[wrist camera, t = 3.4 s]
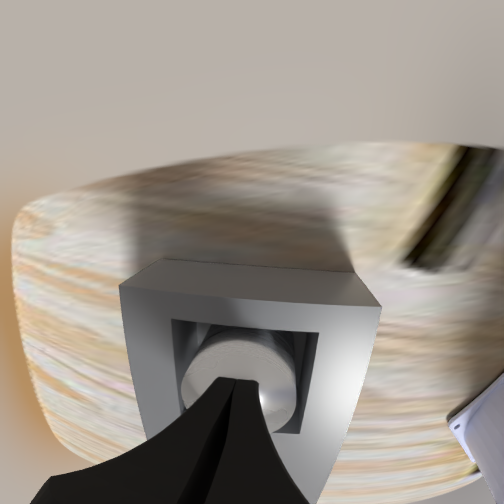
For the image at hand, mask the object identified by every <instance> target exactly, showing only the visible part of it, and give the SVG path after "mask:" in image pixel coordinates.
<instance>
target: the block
mask: <svg viewBox="0 0 504 504" xmlns="http://www.w3.org/2000/svg"><path fill="white" fill-rule="evenodd" d="M119 292H120V302H121V311H122V319H123V326H124V333H125V340H126V346H127V353H128V358H129V364H130V369H131V375H132V380H133V385H134V389H135V394H136V398H137V403H138V407H139V411H140V415H141V419H142V423H143V427H144V431H145V434H146V438H147V440H149V439H150V438H152V437H153V436H155V435H156V434H158V433H159V432H161V431H162V430H163V429H165V428H166V427H167V426H168V425H170V424H171V423H172V422H173V421H174V420H176V419H177V418H178V417H179V416H180V415H182V414H183V413H184V412H185V411H186V410H187V408H186V406H185V404H184V402H183V399H182V395H181V384H182V380H183V377H184V375H185V373H186V372H187V370H188V368H189V366H190V364H191V362H192V360H193V358H194V356H195V355H196V353H197V351H198V349H199V347H200V345H201V343H202V341H203V339H204V337H205V336H206V334H207V332H208V330H209V328H210V326H211V324H218V325H227V326H237V327H247V328H259V329H271V330H285V331H292V334H293V337H294V347H295V374H296V407H295V411H294V413H293V415H292V417H291V418H290V420H289V421H288V422H287V423H286V424H285V425H284V426H282V427H281V428H280V429H278V430H276V431H274V432H272V433H270V436H271V438H272V441H273V443H274V446H275V448H276V450H277V452H278V454H279V456H280V458H281V460H282V462H283V464H284V466H285V468H286V469H287V471H288V473H289V474H290V476H291V478H292V479H293V481H294V482H295V484H296V485H297V487H298V488H299V489H300V491H301V492H302V494H303V495H304V496H305V498H306V499H307V500H308V502H309V503H310V504H316V503H317V501H318V499H319V497H320V494H321V492H322V490H323V488H324V486H325V484H326V482H327V479H328V477H329V475H330V473H331V470H332V468H333V466H334V463H335V461H336V458H337V456H338V454H339V451H340V449H341V446H342V443H343V441H344V438H345V436H346V433H347V430H348V427H349V425H350V422H351V419H352V416H353V413H354V410H355V407H356V404H357V401H358V398H359V395H360V392H361V388H362V385H363V382H364V378H365V375H366V371H367V368H368V364H369V360H370V357H371V353H372V349H373V345H374V341H375V337H376V332H377V328H378V324H379V319H380V314H381V309H382V306H381V305H380V304H379V302H378V301H377V300H376V298H375V297H374V296H373V294H372V293H371V292H370V291H369V289H368V288H367V287H366V285H365V284H364V283H363V281H362V280H361V279H360V278H359V276H358V275H357V274H356V273H352V272H336V271H320V270H305V269H290V268H276V267H262V266H248V265H235V264H221V263H209V262H196V261H183V260H171V259H160V260H158V261H156V262H155V263H153V264H152V265H150V266H148V267H147V268H145V269H143V270H142V271H140V272H139V273H137V274H135V275H134V276H132V277H131V278H129V279H128V280H126V281H124V282H123V283H121V284H120V285H119Z"/></svg>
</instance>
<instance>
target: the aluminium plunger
mask: <svg viewBox="0 0 504 504" xmlns="http://www.w3.org/2000/svg"><path fill="white" fill-rule="evenodd" d="M217 377H227V378H235V379H244V380H255V381H257V382H258V383H259V397H260V403H261V407H262V411H263V415H264V418H265V422H266V425H267V428H268V431H269V433H272V432H274V431H276V430H278V429H280V428H281V427H282V426H284V425H285V424H286V423H287V422H288V421H289V420H290V418H291V417H292V415H293V413H294V411H295V407H296V374H295V347H294V337H293V334H292V331H285V330H271V329H259V328H247V327H237V326H227V325H218V324H211V326H210V328H209V330H208V332H207V334H206V336H205V337H204V339H203V341H202V343H201V345H200V347H199V349H198V351H197V353H196V355H195V356H194V358H193V360H192V362H191V364H190V366H189V368H188V370H187V372H186V373H185V375H184V377H183V380H182V384H181V395H182V399H183V402H184V404H185V406H186V408H187V409H188V408H189V407H190V406H191V405H192V404H193V403H194V402H195V401H196V400H197V399H198V398H199V397H200V396H201V395H202V394H203V393H204V392H205V391H206V389H207V388H208V387H209V386H210V385H211V384H212V382H213V381H214V380H215V379H216V378H217Z"/></svg>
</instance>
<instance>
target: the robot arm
mask: <svg viewBox="0 0 504 504" xmlns="http://www.w3.org/2000/svg"><path fill="white" fill-rule="evenodd" d="M448 427H449V428H450V430H451V431H452V433H453V434H454V436H455V437H456V439H457V440H458V442H459V443H460V445H461V446H462V448H463V449H464V451H465V452H466V454H467V455H468V457H469V458H470V460H471V461H472V462H476V463H477V465H478V467H479V469H480V471H481V473H482V475H483V477H484V479H485V481H486V483H487V485H488V487H489V489H490V491H491V494H492V496H493V498H494V500H495V502H496V504H504V373H503V374H502V375H501V376H500V377H499V378H498V379H497V380H496V381H495V382H494V383H492V384H491V385H490V386H489V387H488V388H487V389H486V390H485V391H484V392H483V393H482V394H480V395H479V396H478V397H477V398H476V399H475V400H474V401H472V402H471V403H470V404H469V405H468V406H466V407H465V408H464V409H463V410H461V411H460V412H459V413H458V414H456V415H455V416H454V417H453V418H451V419H450V420H449V422H448ZM30 504H310V503H309V502H308V500H307V499H306V498H305V496H304V495H303V494H302V492H301V491H300V489H299V488H298V487H297V485H296V484H295V482H294V481H293V479H292V478H291V476H290V474H289V473H288V471H287V469H286V468H285V466H284V464H283V462H282V460H281V458H280V456H279V454H278V452H277V450H276V448H275V446H274V443H273V441H272V438H271V436H270V433H269V431H268V428H267V425H266V422H265V418H264V415H263V411H262V407H261V403H260V397H259V383H258V382H257V381H255V380H244V379H235V378H227V377H217V378H216V379H215V380H214V381H213V382H212V384H211V385H210V386H209V387H208V388H207V389H206V391H205V392H204V393H203V394H202V395H201V396H200V397H199V398H198V399H197V400H196V401H195V402H194V403H193V404H192V405H191V406H190V407H189V408H188V409H187V410H186V411H185V412H184V413H183V414H182V415H180V416H179V417H178V418H177V419H176V420H174V421H173V422H172V423H171V424H170V425H168V426H167V427H166V428H165V429H163V430H162V431H161V432H159V433H158V434H156V435H155V436H153V437H152V438H150V439H149V440H147V441H146V442H144V443H142V444H141V445H139V446H137V447H135V448H133V449H132V450H130V451H128V452H126V453H124V454H122V455H120V456H118V457H115V458H113V459H110V460H108V461H105V462H103V463H100V464H98V465H95V466H92V467H89V468H86V469H83V470H79V471H74V472H70V473H66V474H61V475H56V476H51V477H50V478H49V479H48V480H47V481H46V482H45V483H44V485H43V486H42V487H41V489H40V490H39V491H38V493H37V494H36V496H35V497H34V499H33V500H32V501H31V503H30Z"/></svg>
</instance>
